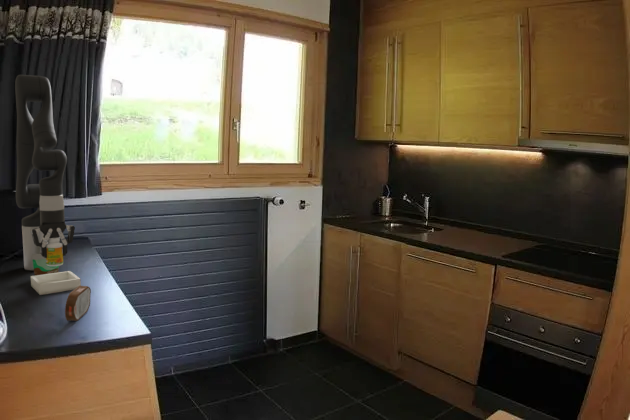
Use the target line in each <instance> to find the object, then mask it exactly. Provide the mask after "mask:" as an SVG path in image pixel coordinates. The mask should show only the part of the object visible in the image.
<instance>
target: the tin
mask: <svg viewBox="0 0 630 420" xmlns="http://www.w3.org/2000/svg"><path fill="white" fill-rule="evenodd" d="M91 293H92V290H91V288H90V286H88V285H87V286H86V285H82V284H81V285H80V286H79V287H77V288H76V289H75V290H71V292H70V293H69V294H68V296H67V298H66V301H65V302H66V303H65V308H64V314H65V315H64V316H65V319H66V321H68V322H69V321H70V322H73V321H74V322H78V321H79V320H80V319H81V318H82V317H83V316H85V315H86V314H87V312H88V311H89V310H90V305H91Z"/></svg>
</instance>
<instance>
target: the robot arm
mask: <svg viewBox="0 0 630 420" xmlns="http://www.w3.org/2000/svg"><path fill="white" fill-rule="evenodd" d="M14 83H15V85H14V88H15V103H16V106H15V107H16V167H17V168H16V170H17V171H16V185H15V202H16V206H17V207H18V208H19V209H37V210H36V211H35V212H33V213H31V214H29V215H26V216H24V217H22V219H21V232H22V233H21V234H22V247H23V249H22V251H23V266H24V267H23V268H24V270H25V271H34V268H33V260H32V259H31V255H32V254H39V253H41V255H42V256H43V257H44V258H47V250H46V247H45V246H46V244H47V243H48V240H49V238H53V237H60V243H62V245H63V257H64V256H65V257H66V255H67V254H68V245H69V244H72V243H73V242H74V241H73V240H74V236H75V225H72V224H70V225H68V224H66V220H65V219H66V218H65V202H64V194H63V180H64V173H65V170H66V167H67V163H68V157H67V155H66V152H65V151H64V150H62V149H54V148H56V146H57V143H58V139H57V134H56V130H55V126H54V115H53V112H54V111H53V110H54V109H53V99H52V97H53V96H52V87H51V82H50V80H49V78H48V77H46V76H41V75H30V74H18V75H17V76H16V78H15V82H14ZM28 102H29V103H30V102H31V103H33V102H34V103H42V104H41V105H42V106H41V107H40V110H39V111H38V112H37V114H36V116H35V117H34V118H33V116H32V115H31V113H30V111H29V109H28V104H27V103H28ZM34 169H35V170H36V171H40V172H41V171H45V172H47V171H54V173H53V174H52V175H50V176H46V177H43V178H40V180H39V182H38V183H33V184H32V183H31V184H30V183H29V184H28V181H29V177H30V175H31V173H32V172H33V170H34ZM65 230H66V231H67V238H65V235H64V232H65Z"/></svg>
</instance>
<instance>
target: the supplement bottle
mask: <svg viewBox="0 0 630 420" xmlns="http://www.w3.org/2000/svg"><path fill="white" fill-rule="evenodd" d="M45 247H46V250H47V258H46V265H47V266H59V267H60V266H62V265H63V264H64V256H63V245H62V242H61V240H60V237H53V238H49V240H48V243H47V244H46V246H45Z"/></svg>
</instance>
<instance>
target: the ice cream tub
mask: <svg viewBox="0 0 630 420" xmlns="http://www.w3.org/2000/svg"><path fill="white" fill-rule="evenodd" d="M31 259H32V260H33V268H34V270H33V273H34V275H33V276H36V275H43V274H51V273H58V272H60V271H59V269H60V266H47V265H46V258H44V257H43V256H42V255H41V253H39V254H32V255H31Z"/></svg>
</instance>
